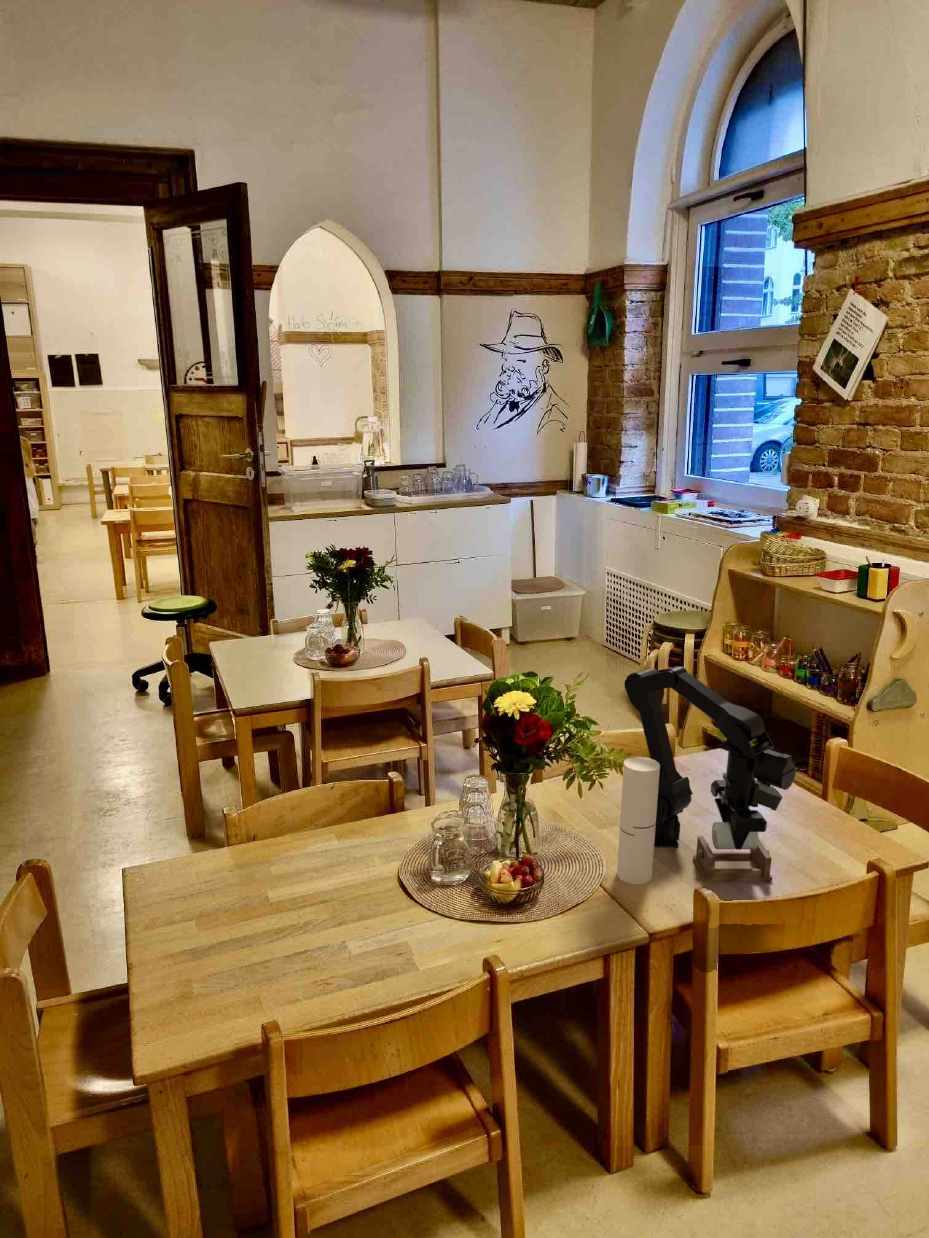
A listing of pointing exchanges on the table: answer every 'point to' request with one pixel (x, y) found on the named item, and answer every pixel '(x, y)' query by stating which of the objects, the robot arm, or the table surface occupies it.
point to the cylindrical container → (638, 820)
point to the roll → (730, 837)
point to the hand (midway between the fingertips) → (733, 842)
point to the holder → (732, 864)
